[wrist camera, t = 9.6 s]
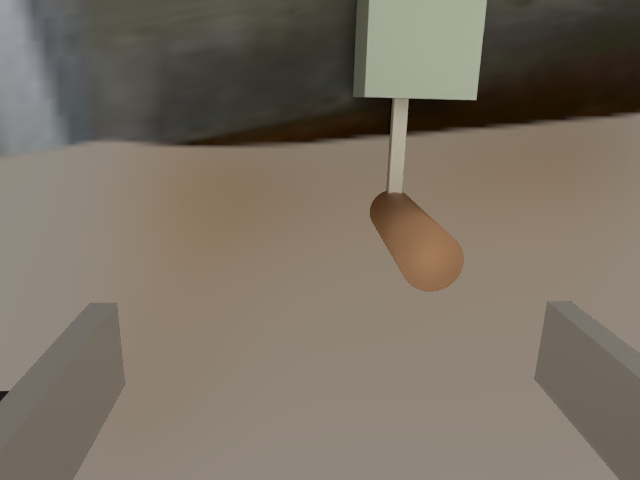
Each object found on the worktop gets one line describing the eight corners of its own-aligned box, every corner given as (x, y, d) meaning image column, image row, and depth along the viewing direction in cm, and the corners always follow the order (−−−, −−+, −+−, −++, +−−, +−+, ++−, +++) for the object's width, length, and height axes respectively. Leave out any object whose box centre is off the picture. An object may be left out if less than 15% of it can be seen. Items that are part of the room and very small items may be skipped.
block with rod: (347, 232, 35) (368, 291, 24) (357, -6, 31) (387, -59, 20) (433, 233, 35) (490, 292, 25) (454, -2, 31) (533, -53, 21)
